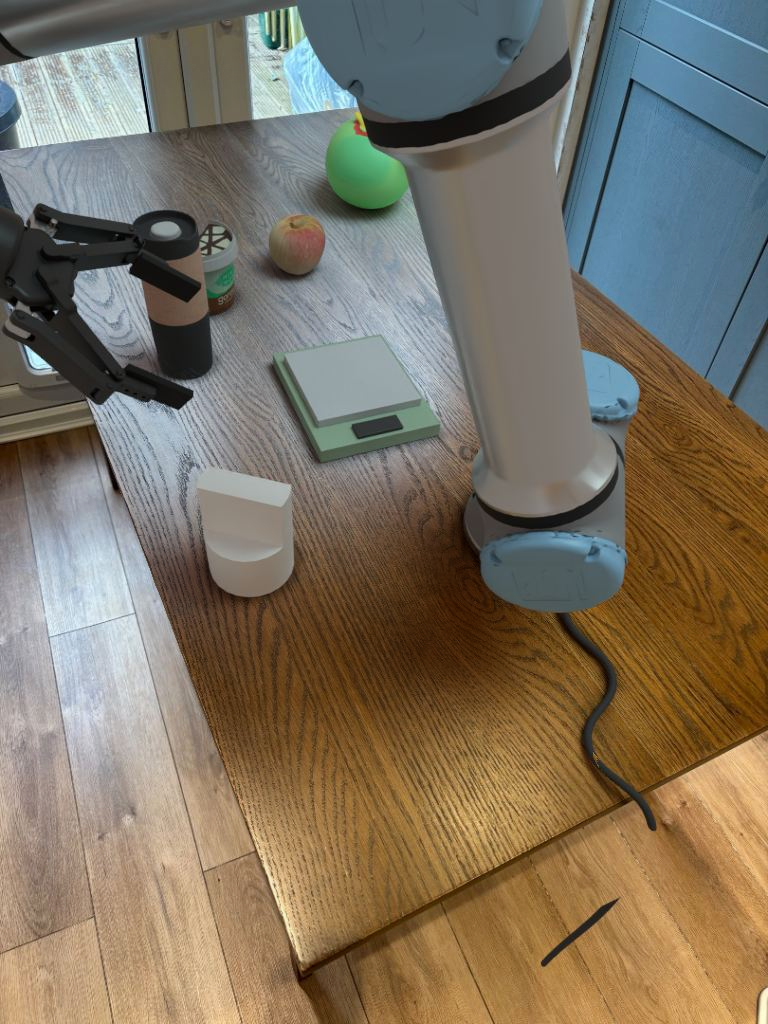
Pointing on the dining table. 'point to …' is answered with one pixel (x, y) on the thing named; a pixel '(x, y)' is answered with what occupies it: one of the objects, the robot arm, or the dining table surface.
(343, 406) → the scale
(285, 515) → the base with upright slab
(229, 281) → the food container
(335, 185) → the toy bird
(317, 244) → the apple
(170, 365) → the travel mug
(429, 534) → the dining table surface
